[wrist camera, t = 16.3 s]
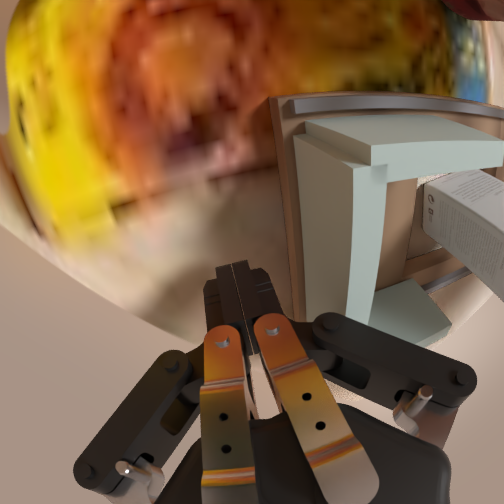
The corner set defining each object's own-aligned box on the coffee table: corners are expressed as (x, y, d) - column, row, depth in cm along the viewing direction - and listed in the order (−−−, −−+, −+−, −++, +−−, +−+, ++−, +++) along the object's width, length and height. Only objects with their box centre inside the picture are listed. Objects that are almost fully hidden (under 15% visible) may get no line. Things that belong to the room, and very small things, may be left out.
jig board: (498, 106, 13) (516, 112, 11) (473, 254, 21) (486, 265, 20) (268, 97, 11) (281, 98, 10) (294, 320, 20) (303, 341, 18)
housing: (434, 115, 11) (505, 141, 7) (409, 289, 19) (446, 335, 15) (291, 122, 11) (352, 147, 7) (306, 326, 18) (334, 387, 14)
